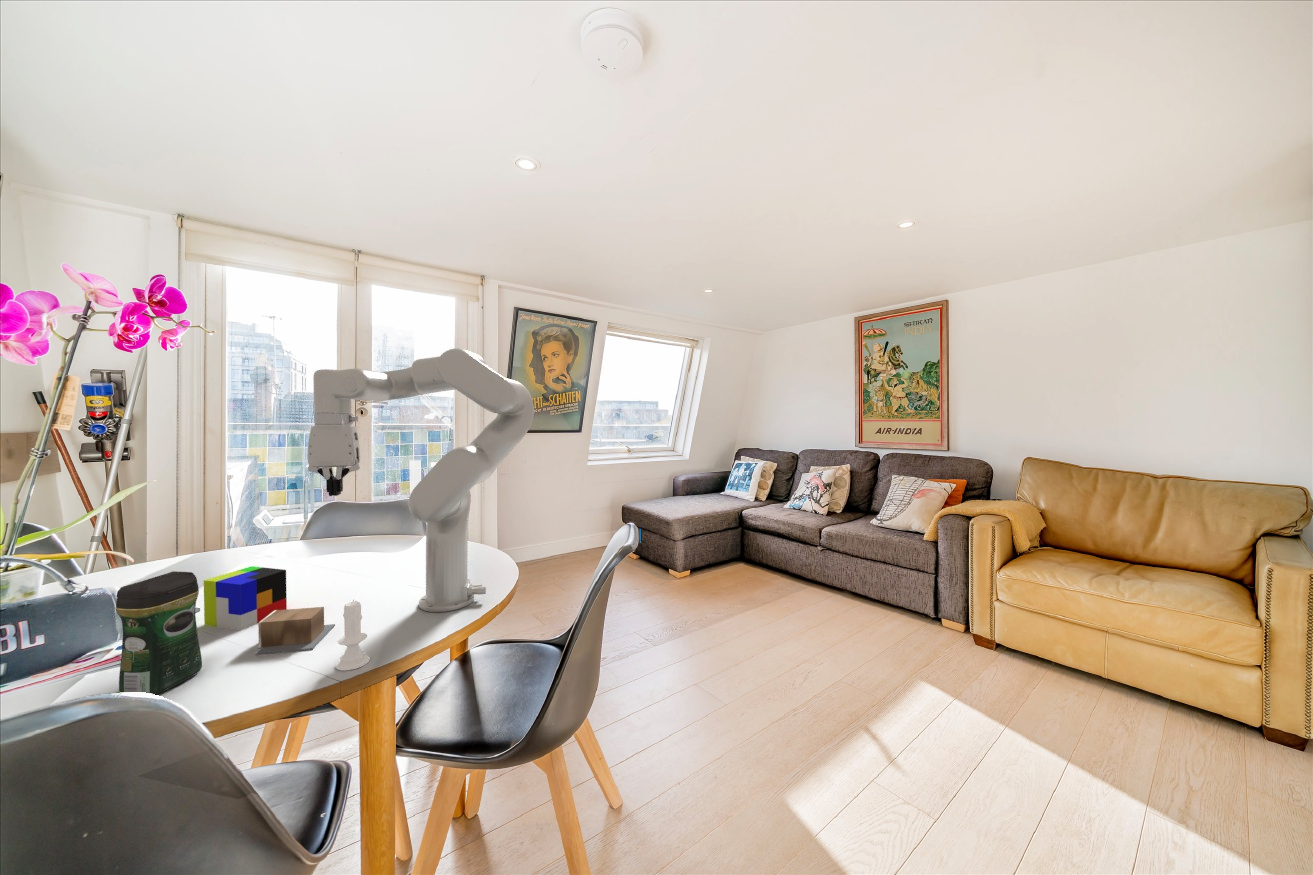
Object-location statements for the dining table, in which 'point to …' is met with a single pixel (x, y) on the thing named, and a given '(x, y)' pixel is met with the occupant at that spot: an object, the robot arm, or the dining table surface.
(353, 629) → the candle
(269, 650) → the mat
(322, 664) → the dining table surface
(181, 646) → the coffee jar
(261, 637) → the block
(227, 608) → the puzzle toy
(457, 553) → the robot arm
